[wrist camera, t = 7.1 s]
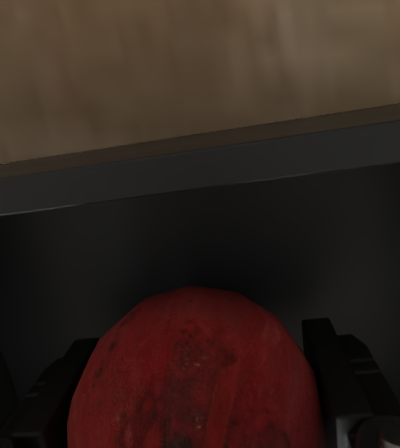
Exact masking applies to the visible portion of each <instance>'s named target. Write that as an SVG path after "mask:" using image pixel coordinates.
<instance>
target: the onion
mask: <svg viewBox="0 0 400 448" xmlns="http://www.w3.org/2000/svg"><path fill="white" fill-rule="evenodd" d="M67 441H68V448H325V442H326V436H325V429H324V423H323V416H322V410H321V404H320V398H319V393H318V387H317V381H316V375H315V372H314V370H313V368H312V366H311V365H310V363H309V361H308V359H307V358H306V356H305V354H304V353H303V351H302V349H301V348H300V347H299V345H298V344H297V343H296V341H295V340H294V338H293V337H292V336H291V334H290V333H289V332H288V330H287V329H286V327H285V326H284V325H283V323H282V322H281V320H280V319H279V318H278V317H277V316H275V315H273V314H272V313H270V312H269V311H267V310H265V309H264V308H262V307H261V306H259V305H257V304H256V303H254V302H252V301H251V300H249V299H248V298H246V297H244V296H243V295H241V294H240V293H238V292H234V291H228V290H221V289H214V288H207V287H200V286H186V287H182V288H178V289H175V290H171V291H168V292H164V293H160V294H157V295H153V296H150V297H146V298H144V299H143V300H142V301H141V302H140V303H139V304H138V305H136V306H135V307H134V308H133V309H132V310H131V311H130V312H129V313H128V314H126V315H125V316H124V317H123V318H122V319H121V320H120V321H119V322H118V323H116V324H115V325H114V326H113V327H112V328H111V329H110V330H109V331H108V332H106V333H105V334H104V335H103V336H102V337H101V338H100V339H99V341H98V343H97V345H96V347H95V349H94V350H93V352H92V354H91V356H90V358H89V360H88V362H87V365H86V367H85V369H84V372H83V374H82V376H81V379H80V381H79V383H78V386H77V388H76V390H75V392H74V395H73V397H72V401H71V406H70V411H69V416H68V421H67Z"/></svg>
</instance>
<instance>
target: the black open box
mask: <svg viewBox="0 0 400 448" xmlns="http://www.w3.org/2000/svg"><path fill="white" fill-rule="evenodd" d="M186 286H200V287H207V288H214V289H221V290H228V291H234V292H238V293H240V294H241V295H243V296H244V297H246V298H248V299H249V300H251V301H252V302H254V303H256V304H257V305H259V306H261V307H262V308H264V309H265V310H267V311H269V312H270V313H272V314H273V315H275V316H277V317H278V318H279V319H280V320H281V322H282V323H283V325H284V326H285V327H286V329H287V330H288V332H289V333H290V334H291V336H292V337H293V338H294V340H295V341H296V343H297V344H298V345H299V347H300V348H301V349H302V351H303V353H304V348H303V336H302V320H305V319H317V318H329V319H330V321H331V323H332V325H333V327H334V329H335V332H336V334H337V335H347V334H352V335H354V336H355V337H356V338H358V339H359V340H360V341H362V342H363V343H364V344H366V345H367V347H368V349H369V351H370V352H371V354H372V356H373V358H374V361H376V363H377V365H378V366H379V368H380V370H381V373H382V374H383V375H384V377H385V379H386V381H387V382H388V384H389V386H390V388H391V389H392V391H393V393H394V395H395V396H396V398H397V400H398V402H399V403H400V104H393V105H386V106H380V107H373V108H367V109H360V110H353V111H347V112H340V113H334V114H327V115H320V116H314V117H307V118H301V119H294V120H287V121H281V122H274V123H268V124H261V125H254V126H248V127H241V128H235V129H228V130H221V131H215V132H208V133H202V134H195V135H188V136H182V137H175V138H169V139H162V140H155V141H149V142H142V143H136V144H129V145H122V146H116V147H109V148H103V149H96V150H89V151H83V152H76V153H70V154H63V155H56V156H50V157H43V158H37V159H30V160H23V161H17V162H10V163H4V164H0V431H1V429H2V428H3V426H4V425H5V424H6V422H7V421H8V419H9V418H10V417H11V415H12V414H13V412H14V411H15V410H16V408H17V407H18V405H19V404H20V403H21V401H22V400H23V398H26V394H27V393H28V391H29V390H30V389H31V387H32V386H34V383H35V382H36V380H37V379H38V377H39V376H40V375H41V373H42V372H43V370H44V369H46V368H47V367H48V366H49V365H51V364H52V363H53V362H54V361H55V360H57V359H58V358H63V357H64V355H65V354H66V352H67V351H68V349H69V348H70V346H71V345H72V343H73V342H74V341H75V340H77V339H87V338H98V337H100V338H101V337H102V336H103V335H104V334H105V333H106V332H108V331H109V330H110V329H111V328H112V327H113V326H114V325H115V324H116V323H118V322H119V321H120V320H121V319H122V318H123V317H124V316H125V315H126V314H128V313H129V312H130V311H131V310H132V309H133V308H134V307H135V306H136V305H138V304H139V303H140V302H141V301H142V300H143V299H144V298H146V297H150V296H153V295H157V294H160V293H164V292H168V291H171V290H175V289H178V288H182V287H186Z"/></svg>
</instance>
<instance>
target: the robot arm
mask: <svg viewBox="0 0 400 448" xmlns="http://www.w3.org/2000/svg"><path fill="white" fill-rule="evenodd" d="M302 336H303V348H304V354H305V356H306V358H307V359H308V361H309V363H310V365H311V366H312V368H313V370H314V372H315V375H316V381H317V387H318V393H319V398H320V404H321V410H322V416H323V423H324V429H325V436H326V442H325V448H400V403H399V402H398V400H397V398H396V396H395V395H394V393H393V391H392V389H391V388H390V386H389V384H388V382H387V381H386V379H385V377H384V375H383V374H382V373H381V370H380V368H379V366H378V365H377V363H376V361H374V358H373V356H372V354H371V352H370V351H369V349H368V347H367V345H366V344H364V343H363V342H362V341H360V340H359V339H358V338H356V337H355V336H354V335H352V334H347V335H337V334H336V332H335V329H334V327H333V325H332V323H331V321H330V319H329V318H317V319H305V320H302ZM99 339H100V337H98V338H87V339H77V340H75V341H74V342H73V343H72V345H71V346H70V348H69V349H68V351H67V352H66V354H65V355H64V357H63V358H58V359H57V360H55V361H54V362H53V363H52V364H51V365H49V366H48V367H47V368H46V369H44V370H43V372H42V373H41V375H40V376H39V377H38V379H37V380H36V382H35V383H34V386H32V387H31V389H30V390H29V391H28V393H27V394H26V398H23V400H22V401H21V403H20V404H19V405H18V407H17V408H16V410H15V411H14V412H13V414H12V415H11V417H10V418H9V419H8V421H7V422H6V424H5V425H4V426H3V428H2V429H1V431H0V448H68V441H67V421H68V416H69V411H70V406H71V401H72V397H73V395H74V392H75V390H76V388H77V386H78V383H79V381H80V379H81V376H82V374H83V372H84V369H85V367H86V365H87V362H88V360H89V358H90V356H91V354H92V352H93V350H94V349H95V347H96V345H97V343H98V341H99Z"/></svg>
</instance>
